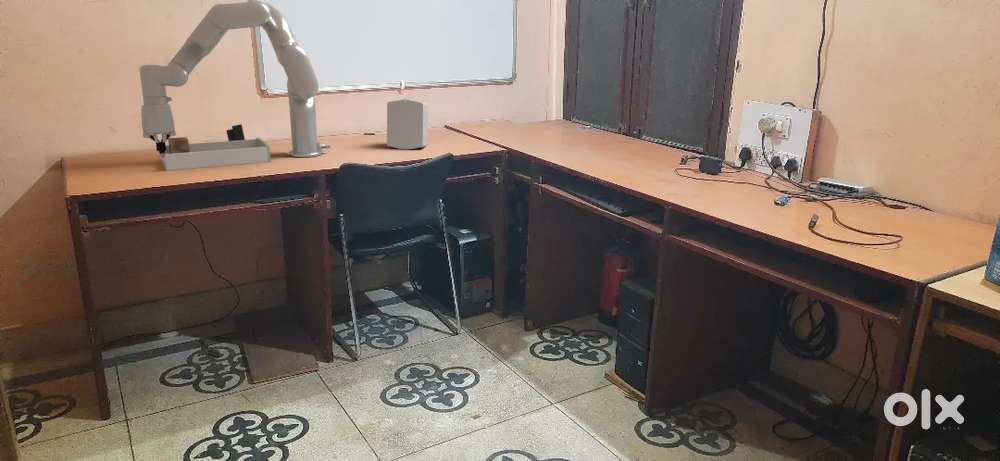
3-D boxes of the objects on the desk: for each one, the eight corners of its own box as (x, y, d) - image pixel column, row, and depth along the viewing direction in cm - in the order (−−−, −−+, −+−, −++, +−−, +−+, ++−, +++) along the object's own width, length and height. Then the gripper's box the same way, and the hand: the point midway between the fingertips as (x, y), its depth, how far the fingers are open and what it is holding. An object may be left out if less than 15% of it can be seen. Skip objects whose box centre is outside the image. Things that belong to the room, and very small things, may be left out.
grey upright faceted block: (429, 148, 305) (430, 100, 302) (422, 150, 290) (423, 99, 287) (395, 147, 306) (395, 99, 303) (386, 149, 291) (387, 98, 288)
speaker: (251, 150, 283) (246, 123, 280) (238, 152, 279) (232, 126, 276) (240, 149, 288) (235, 123, 285) (227, 152, 284) (222, 125, 281)
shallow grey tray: (259, 153, 279) (258, 137, 277) (270, 161, 264) (269, 145, 262) (161, 160, 262) (159, 144, 260) (166, 170, 247) (164, 153, 245)
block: (187, 153, 264) (185, 137, 262) (190, 156, 259) (188, 139, 257) (170, 154, 261) (168, 138, 259) (171, 157, 256) (169, 140, 254)
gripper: (177, 99, 258) (183, 149, 263) (130, 101, 251) (137, 153, 256) (179, 101, 252) (185, 153, 257) (132, 103, 244) (139, 156, 250)
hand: (161, 153), depth 257 cm, fingers closed
